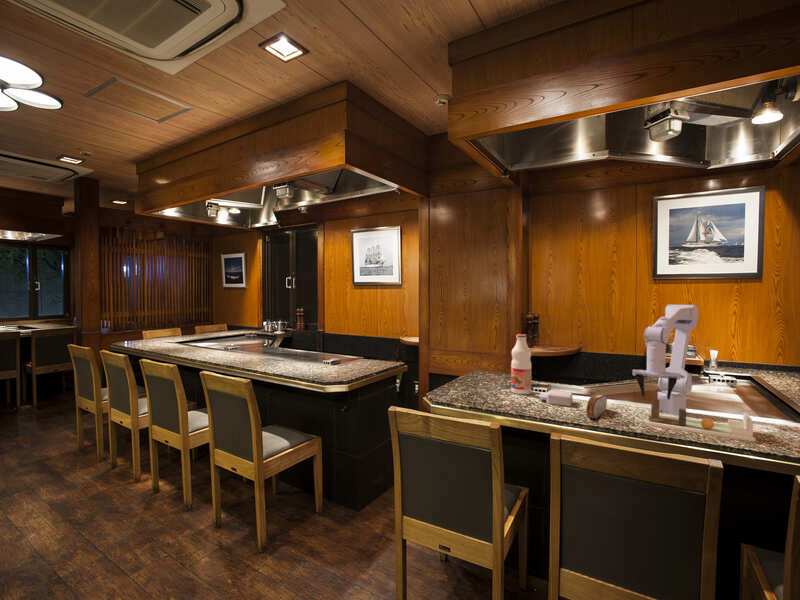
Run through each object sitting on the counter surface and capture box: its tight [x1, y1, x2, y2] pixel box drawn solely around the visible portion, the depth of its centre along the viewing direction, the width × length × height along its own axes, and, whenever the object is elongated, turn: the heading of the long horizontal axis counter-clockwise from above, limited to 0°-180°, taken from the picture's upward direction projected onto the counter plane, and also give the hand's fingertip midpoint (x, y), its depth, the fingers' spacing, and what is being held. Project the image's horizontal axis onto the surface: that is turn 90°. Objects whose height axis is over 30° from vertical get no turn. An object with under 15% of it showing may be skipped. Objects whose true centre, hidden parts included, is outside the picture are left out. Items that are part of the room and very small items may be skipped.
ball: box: [701, 417, 715, 429], centre depth 136 cm, size 4×4×4 cm
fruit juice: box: [510, 333, 532, 395], centre depth 192 cm, size 9×9×28 cm
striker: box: [649, 398, 687, 426], centre depth 143 cm, size 11×4×7 cm, turn 56°
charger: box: [534, 389, 573, 407], centre depth 176 cm, size 5×9×15 cm
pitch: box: [644, 412, 756, 443], centre depth 138 cm, size 30×13×8 cm, turn 56°
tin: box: [586, 392, 608, 420], centre depth 155 cm, size 15×3×8 cm, turn 134°
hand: (655, 397), depth 145 cm, fingers open, 7 cm apart
